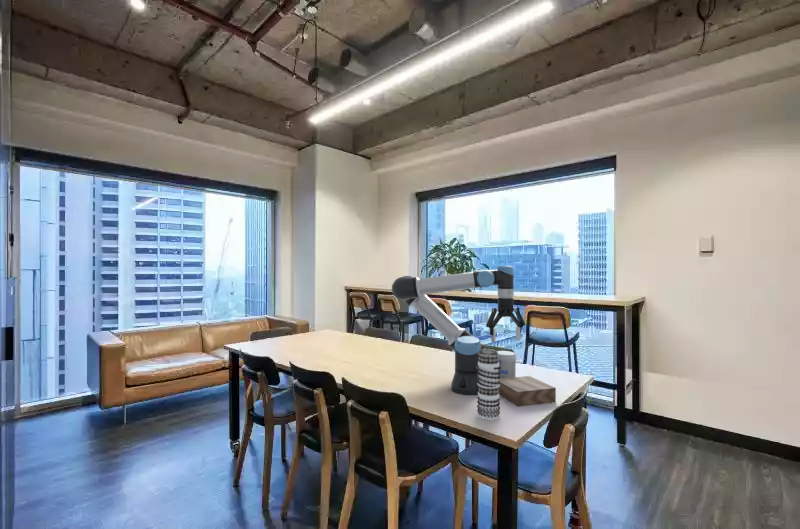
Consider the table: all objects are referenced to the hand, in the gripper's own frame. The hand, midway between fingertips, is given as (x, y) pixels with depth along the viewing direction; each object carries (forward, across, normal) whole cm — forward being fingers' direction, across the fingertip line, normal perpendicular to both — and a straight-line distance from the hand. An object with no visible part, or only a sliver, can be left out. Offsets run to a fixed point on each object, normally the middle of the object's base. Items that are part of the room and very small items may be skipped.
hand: (505, 341), depth 186 cm
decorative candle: (+20, -28, -34) cm, 49 cm away
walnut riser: (+20, -3, -20) cm, 29 cm away
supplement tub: (+20, 0, 0) cm, 21 cm away
